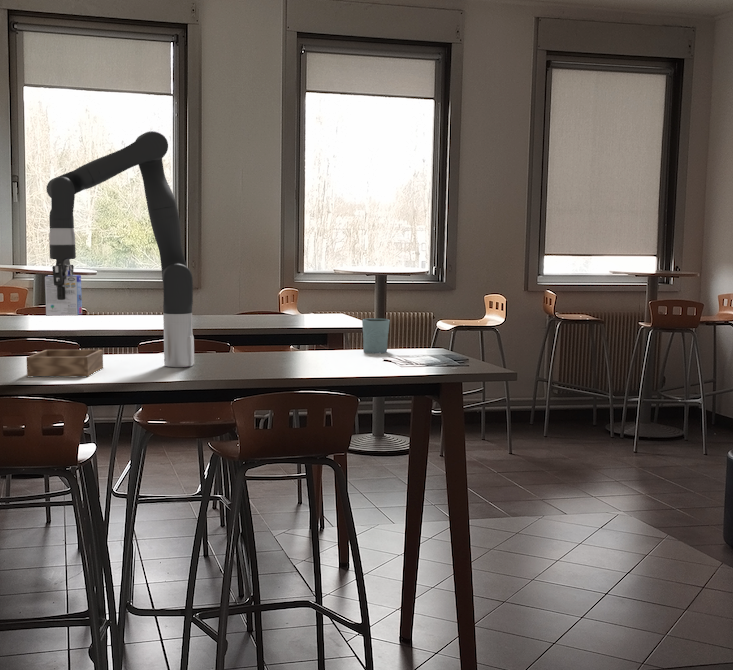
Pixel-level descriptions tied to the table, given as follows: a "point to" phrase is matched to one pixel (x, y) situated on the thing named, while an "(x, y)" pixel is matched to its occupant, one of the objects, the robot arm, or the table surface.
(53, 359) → the walled box
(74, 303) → the ink cartridge box
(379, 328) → the grey tapered piece
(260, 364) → the table surface
